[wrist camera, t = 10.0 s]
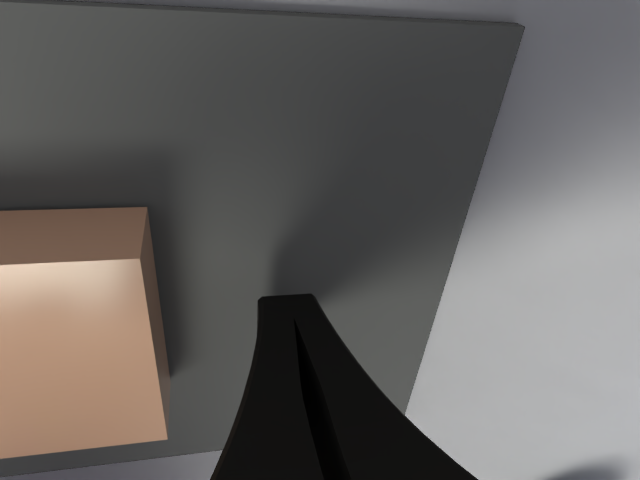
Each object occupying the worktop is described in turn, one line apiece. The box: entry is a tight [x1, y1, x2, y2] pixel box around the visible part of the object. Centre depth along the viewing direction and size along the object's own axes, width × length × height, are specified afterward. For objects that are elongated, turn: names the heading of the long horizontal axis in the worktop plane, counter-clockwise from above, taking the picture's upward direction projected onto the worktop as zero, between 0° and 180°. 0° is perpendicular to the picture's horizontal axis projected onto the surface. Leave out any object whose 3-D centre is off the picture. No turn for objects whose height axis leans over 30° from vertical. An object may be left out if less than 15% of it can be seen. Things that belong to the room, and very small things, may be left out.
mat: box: [0, 0, 525, 477], centre depth 13 cm, size 18×14×1 cm
